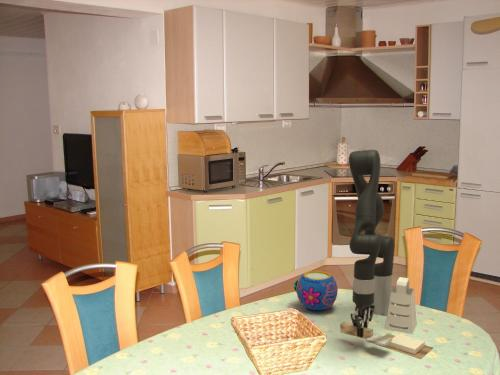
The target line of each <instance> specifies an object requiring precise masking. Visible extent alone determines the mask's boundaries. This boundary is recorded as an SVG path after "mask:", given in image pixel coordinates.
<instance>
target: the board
mask: <svg viewBox="0 0 500 375" xmlns="http://www.w3.org/2000/svg"><path fill="white" fill-rule="evenodd" d="M384 336H385V337H389V338H394V337H395V336H396V335H395V334H394V335H393V334H390V333H386V334H385V335H384ZM375 346H379V347H382V348H384V349H385V348H386V349H389V350H392V351H395V352H398V353H401V354H403V355H407V356H410V357H413V358H415V359H419V360H422V359H423V358H424V357H425V356H426V355H427V354H429V353H430V352H431V351H432V350H434V347H432V346H429V345H426V344H424V347H423V348H422V349H421V350H420V351H418V352H417V353H416V354H415V355H414V354H411V353H408V352H405V351H402V350H399V349H396V348H393V347H390V346H388V344H387V345H385V346H381V345H378V344H375Z"/></svg>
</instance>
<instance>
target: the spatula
mask: <svg viewBox="0 0 500 375" xmlns="http://www.w3.org/2000/svg"><path fill="white" fill-rule="evenodd" d="M339 325H340V333H341V334H343V335H348V336H352V337H355V338H359V337H358V336H357V327H354V326H353V323H348V322H345V321H343V322H341V323H340V324H339ZM363 328H364V330H363V337H362V338H361V339H364V340H365V342H366V343H370V344H374V345H376V344H378V345H377V346H379V345H381V346H380V347H382V346H385V345H387V344H388V343H389V342H391V341H392V338H389V337H385V335H381V334H377V333H374V328H369V327H368V328H365V327H363Z"/></svg>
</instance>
